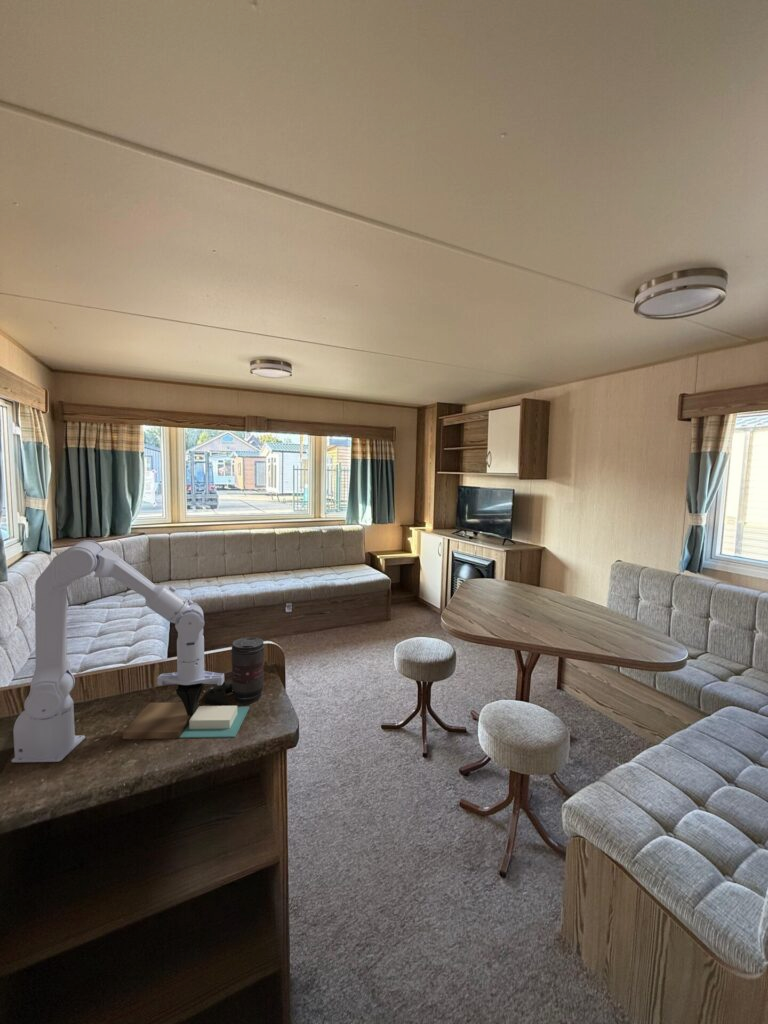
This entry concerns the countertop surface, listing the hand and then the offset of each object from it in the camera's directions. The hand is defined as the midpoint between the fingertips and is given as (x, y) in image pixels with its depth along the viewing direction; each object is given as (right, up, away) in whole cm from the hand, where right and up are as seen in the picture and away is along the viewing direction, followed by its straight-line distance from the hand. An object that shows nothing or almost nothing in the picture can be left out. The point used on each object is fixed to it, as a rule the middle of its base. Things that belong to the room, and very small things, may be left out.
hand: (191, 713), depth 98 cm
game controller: (+2, -2, +12) cm, 12 cm away
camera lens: (+9, -2, +12) cm, 15 cm away
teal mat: (+6, -2, 0) cm, 6 cm away
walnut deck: (-7, -2, 0) cm, 7 cm away
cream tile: (+5, -1, 0) cm, 5 cm away
